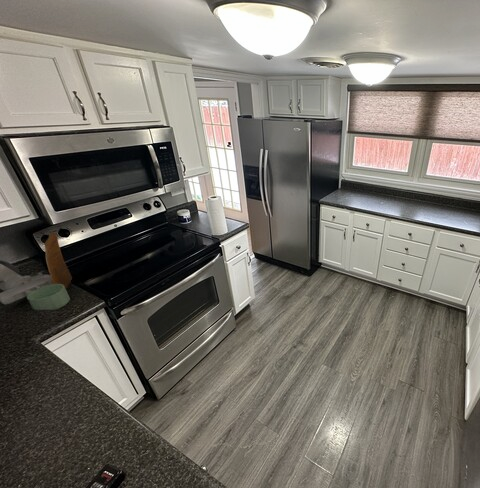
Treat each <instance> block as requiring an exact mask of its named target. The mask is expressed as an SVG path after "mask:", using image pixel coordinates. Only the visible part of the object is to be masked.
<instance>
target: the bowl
mask: <svg viewBox="0 0 480 488" xmlns="http://www.w3.org/2000/svg"><path fill="white" fill-rule="evenodd" d="M26 299H27V301H28V303H29V305H30V306H31V308H32V310H33V311H57V310H59V309H62V308H63V307H65V306H66V305H67V304H68V303H69V302H70V301H71V296H70V295H69V293H68V290H67V289H66V288H65V286H64V285H62V284H52V285H47V286H43V287H41V288H38V289H36V290H34V291H32V292H30V293H29V294H28V295H27V296H26Z"/></svg>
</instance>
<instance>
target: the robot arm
mask: <svg viewBox="0 0 480 488" xmlns="http://www.w3.org/2000/svg"><path fill="white" fill-rule="evenodd" d="M19 270H20V269H18V267H16V266H15V265H14V264H12V263H10V262H8V261H5V260H3V259H0V290H2V291H1V292H0V303H1V304H3V305H11V304H12V303H14V302H16V301H19V300H21V299H24V298H27V295H28V294H29V293H30V292H32V291H34V290H36V289H38V288H41V287H43V286H47V285H52V278H51V275H50V274H43V273H42V272H38V273H34V274H29V275H21V274H20V271H19Z"/></svg>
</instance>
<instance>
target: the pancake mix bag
mask: <svg viewBox="0 0 480 488" xmlns="http://www.w3.org/2000/svg"><path fill="white" fill-rule="evenodd" d="M43 245H44V249H45V263H46V265H47V269H48V272H49V275H51V278H52V284H62V285H64V286H65V288H66V290H67V289H68V287H69V285H70V284H71V283H72V281H73V280H72V278H73V276H72V274H71V272H70V269H69V268H68V266H67V264H66V261H65V260H64V256H63V254H62V250H61V247H60V243H59V239H58V235H57V234H56V233H55V232H54V231H51V232H50V234H49V235H48V237H47V239H46V241H45V242H44V244H43ZM71 280H72V281H71Z"/></svg>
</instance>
